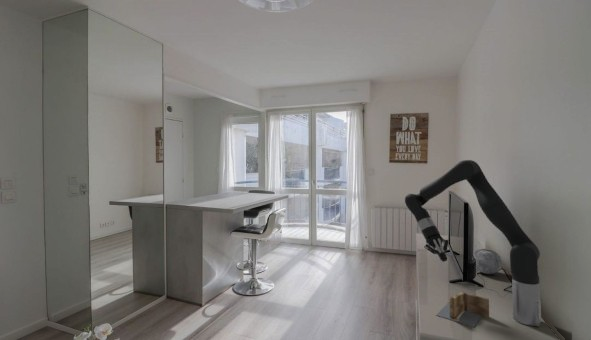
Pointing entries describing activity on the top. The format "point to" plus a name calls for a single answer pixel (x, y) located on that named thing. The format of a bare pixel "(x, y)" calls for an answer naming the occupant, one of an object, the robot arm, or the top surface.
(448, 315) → the board
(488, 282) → the top surface
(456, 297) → the fence gate
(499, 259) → the decorative orb
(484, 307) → the fence fixed
